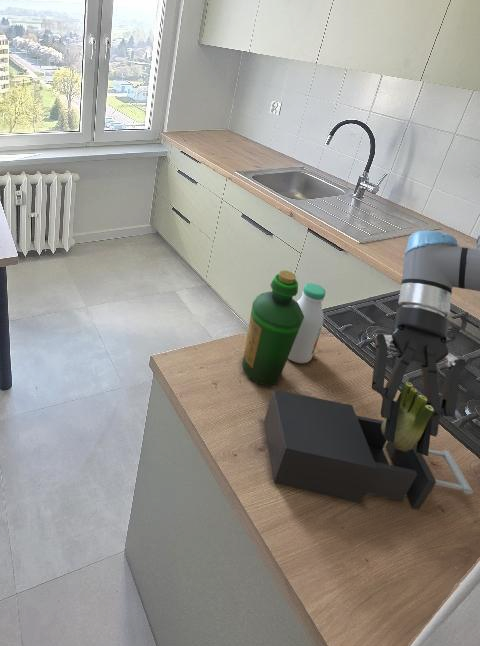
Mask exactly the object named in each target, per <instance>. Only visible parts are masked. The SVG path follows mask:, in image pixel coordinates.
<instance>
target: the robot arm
mask: <svg viewBox="0 0 480 646" xmlns="http://www.w3.org/2000/svg"><path fill="white" fill-rule="evenodd" d="M406 245H407V246H406V250H405V252H404V259H403V267H402V275H401V283H400V290H399V296H398V303H397V305H398V306H399V307H398V308H397V309H396V316H395V321H394V322H395V323H394V328H393V330H392V332H390V334H383V333H378V334H375V335H374V336H373V342H374V346H375V354H374V362H373V371H372V380H371V389H372V390H373V391H375V392H376V393H378V394H379V395H380V396H381V399H382V401H381V407H380V417H381V418H383V419H384V418H386V426H385V433H384V439H385V440H387V441H386V442H388V441H390V442H393V443H394V438H395V431H396V423H397V416H398V409H399V403H398V402H396V401H397V400H394V399H395V398H396V396H397V393H398V391H399V388H400V386H401V383H402V381H403V379H404V376H405V374H406V371H407V369H408V367H409V365H410V364H411V363H414V364H417V365H418V366H420V370H421V373H422V380H423V390H424V396H425V397H426V398H427V402H426V404H425V406H426V405H430V406H432V407H433V409H434V413H433V415H432V416H431V417H430V419H429V421H428V422H427V425H426V427H425V429H424V432H423V434H422V437H421V438H420V440H419V441H418V443H417V449H416V452H418V453H420V454H422V455H423V456H426V457H429V454H428V452H429V449H430V442H431V436H432V437H435V438H436V437H437V436H438V433H439V424H440V419H441V418H442V417H451V418H452V417H455V415H456V409H457V408H456V407H457V402H458V401H457V400H458V395H459V387H460V380H461V374H462V372H463V370H464V369H465V368H466V366H467V361H466V360H465V359H463V358H458V357H457V356H455V355H454V354H452V353H450V351H449V348H448V345H447V340H448V331H449V321H450V320H449V319H448V318H447V317H449V316H450V315H451V304H452V303H451V302H452V293H453V288H457V289H463V290H464V289H465V290H470V291H475V292H480V234H479V235H478V237H477V239H476V248H470V247H464V246H459V244H458V239H457V238H456V237H455V236H453V235H451V234H450V233H446V232H440V231H438V230H428V229H427V230H418V231H415V232H413V233H412V234H410V235H409V237H408V239H407V244H406ZM391 342H392V344H393V346H394V348H395V350H396V351H397V353H398V354H397V356H396V358H395V363H394V365H393V367H392V369H391V372H390V375H389V377H388V379H387V382H386V384H385V378H386V368H387V359H388V347H390V346H391ZM443 359H444V360H445V363H444V364H445V366H446V369H445V374H444V379H443V386H442V393H441V399H440V392H439V384H438V377H437V376H438V375H437V373H438V365H437V364H438V363H439V362H440V361H442V360H443Z"/></svg>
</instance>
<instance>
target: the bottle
mask: <svg viewBox="0 0 480 646" xmlns="http://www.w3.org/2000/svg"><path fill="white" fill-rule="evenodd" d="M270 288H271V291H266V292H262V293H260V294H259V295H257V296H256V297H255V299H254V300H253V302H252V305H251V311H250V317H249V322H248V329H247V334H246V340H245V346H244V353H243V359H242V368H243V372H244V373H245V375H246V376H247V377H248V378H249V379H251V380H252V381H254V382H256V383H258V384H260V385H266V386H272V385H275V384H278V382H279V381H280V378H281V376H282V374H283V371H284V369H285V366H286V364H287V361H288V360H289V359H288V356H289V354H290V351H291V349H292V346H293V344H294V341H295V339H296V336H297V334H298V331H299V329H300V326H301V324H302V321H303V319H304V315H303V313H302V311H301V308H300V306H299V304H298V303H297V301H296V300H295V299H294V297H296V296H297V295H298V292H299V282H298V280H297V275H296V274H295V273H293V272H292V271H289V270H280V271H279V273H278V274H275V276H274V278H273V279H272V281H271V283H270Z"/></svg>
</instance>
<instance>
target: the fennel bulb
mask: <svg viewBox="0 0 480 646" xmlns="http://www.w3.org/2000/svg"><path fill="white" fill-rule="evenodd" d="M418 393H419V392H418V389H416V388H414V385H413V384H412V382H410V381H404V382H403V386H402V387H401V391H400V393H399V395H398V397H397V399H396V400H395V401H396V402H398V403H399V409H398V416H397V423H396V431H395V438H394V443H393V442H390V441H387V442H389V443H390V444H391V445H392V446H393V447H395V448H396V449H399V450H401V451H404V452H406V451H408V450H411V449H412V448H413V447H414V446H415V445H416V444H417V443H418V441H419V440H420V438H421V437H422V434H423V432H424V429H425V427H426V425H427V422H428V421H429V419H430V417H431V416H432V415H433V413H434V409H433V407H432V406H430V405H426V402H427V398H426V397H425V395H422V394H418ZM382 421H383V423H382V425H381V431H382V434H383V436H384V433H385V426H386V418H384V417H383V419H382Z"/></svg>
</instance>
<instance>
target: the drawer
mask: <svg viewBox="0 0 480 646" xmlns="http://www.w3.org/2000/svg"><path fill="white" fill-rule="evenodd" d="M356 416H357V419H358V421H359V424H360V426H361V429H362V431H363V433H364V436H365V438H366V441H367V443H368V446H369V448H370V451H371V453H372V456H373V458H374V461H375V463H376V466H377V471H376V472H375V475H374V477H373V479H372V481H371V483H370V485H369V487H368V489H367V491H366V493H365V494H370V495H374V496H379V497H382V498H387V499H391V500H394V501H395V500H396V501H400V502H403V501H404V499H405V497H407V500H408V502H409V505H410V507H411V509H413V510H417V511H420V510H421V508H422V507H423V506H424V504H425V502H426V501H427V499H428V497H429V496H430V493H431V492H432V490H433V488H434V487H435V486H441V487H445V488H450V489H454V490H458V491H462V492H463V494H464V495H471V494H473V493H474V490H473V488H472V487H471V485H470V483H469V482H468V480H467V478H466V477H465V475H464V474H463V472H462V469H461V468H460V466H459V465H458V463H457V461H456V459H455V457H454V456H453V454H452V453H451V451H450V450H446V449H445V450H441V451H440V450H436V449H431V448H429V452H428V455H433V456H438V457H441V458H443V459H444V461H445V462H446V465H447V466H448V467H449V469H450V471H451V473H452V475H453V476H454V478H455V480H456V482H457V483H454V482H450V481H447V480H442V479H441V480H440V479H437V478H435V476H434V475H433V472H432V471H431V469H430V467H429V465H428V463H427V461H426V459H425V457H424V455H423V454H420V453H418V452H416V449H417V444H416V445H415V446H414V447H413V448H412V449H411V450H408V451H406V452H404V451H401V450H399V449H396V448H395V447H393V446H392V445H391V444H390V443H389V442H388V441H387V440H385V439H384V436H383V434H382V431H381V425H382V423H383V420H382V419H375V418H373V417H372V418H371V417H366V416H361V415H357V414H356ZM384 448H385V450H386V452H387V455H388V457H389V459H390V461H391V464H390V463H389V461H388V458H387V456H386V453H385V451H384Z"/></svg>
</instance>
